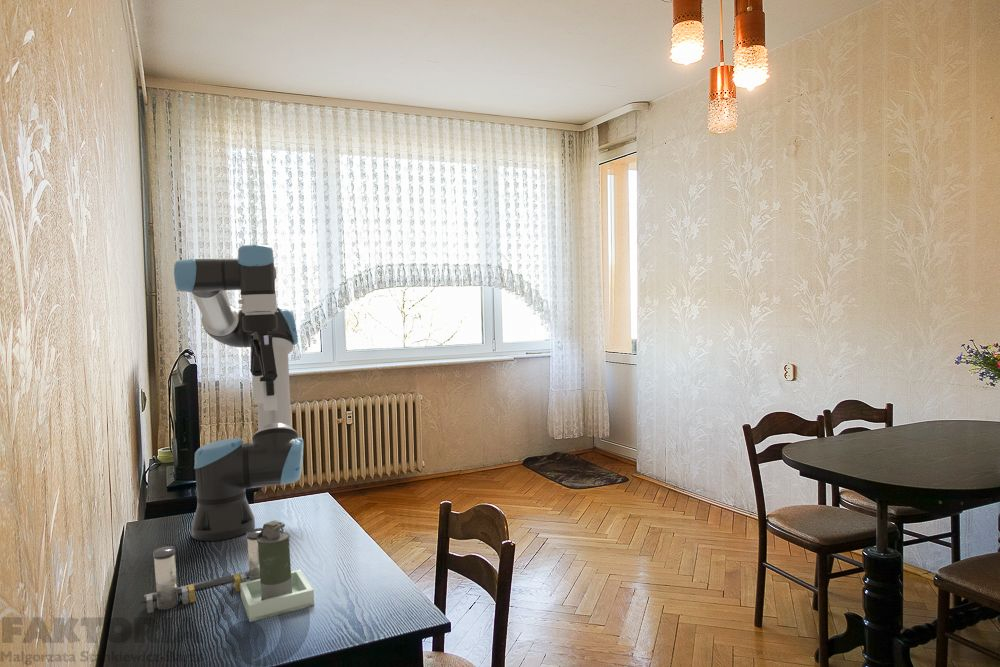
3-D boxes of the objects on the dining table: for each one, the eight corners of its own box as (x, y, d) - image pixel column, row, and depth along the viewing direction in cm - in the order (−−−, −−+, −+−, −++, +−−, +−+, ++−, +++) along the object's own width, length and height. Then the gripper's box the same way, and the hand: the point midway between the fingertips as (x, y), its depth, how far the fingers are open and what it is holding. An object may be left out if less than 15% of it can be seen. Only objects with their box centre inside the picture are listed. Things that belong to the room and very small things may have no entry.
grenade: (300, 595, 127) (295, 520, 126) (275, 608, 122) (270, 530, 121) (277, 589, 130) (273, 515, 129) (252, 602, 125) (247, 525, 124)
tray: (241, 598, 128) (240, 583, 128) (300, 583, 134) (300, 569, 134) (249, 622, 118) (248, 606, 118) (314, 605, 124) (313, 589, 124)
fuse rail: (144, 599, 129) (140, 545, 129) (274, 569, 142) (271, 520, 141) (144, 614, 123) (140, 557, 122) (281, 581, 135) (278, 529, 135)
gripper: (234, 314, 156) (240, 402, 157) (250, 314, 134) (256, 415, 135) (267, 313, 160) (272, 398, 161) (287, 312, 138) (293, 411, 139)
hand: (265, 406), depth 148 cm, fingers open, 13 cm apart
